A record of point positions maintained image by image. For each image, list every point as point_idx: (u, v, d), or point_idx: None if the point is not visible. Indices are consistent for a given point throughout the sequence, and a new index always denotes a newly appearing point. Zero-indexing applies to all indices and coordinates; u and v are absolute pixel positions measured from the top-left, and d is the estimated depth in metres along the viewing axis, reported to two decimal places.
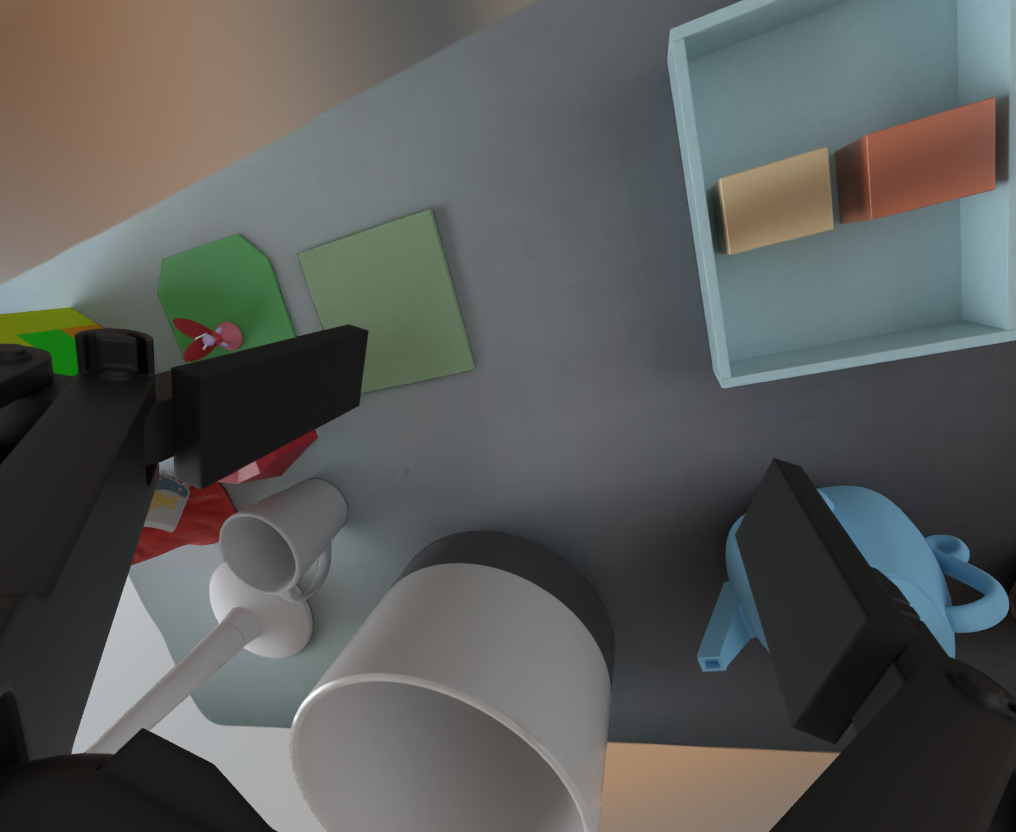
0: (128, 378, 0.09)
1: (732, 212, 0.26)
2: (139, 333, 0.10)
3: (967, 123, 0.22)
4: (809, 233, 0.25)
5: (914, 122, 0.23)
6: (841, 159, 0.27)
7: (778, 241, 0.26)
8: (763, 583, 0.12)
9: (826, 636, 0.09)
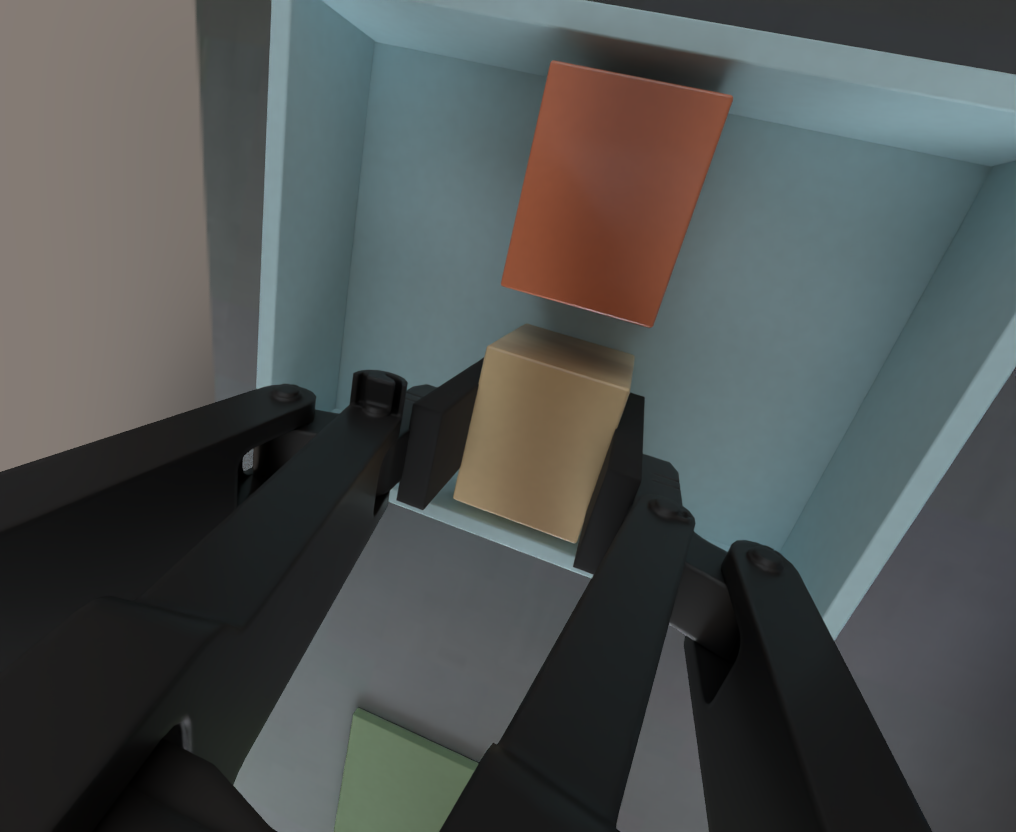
0: (381, 416, 0.11)
1: (511, 509, 0.15)
2: (399, 377, 0.11)
3: (572, 119, 0.11)
4: (613, 427, 0.13)
5: (520, 207, 0.12)
6: None
7: (597, 474, 0.13)
8: None
9: (596, 495, 0.11)
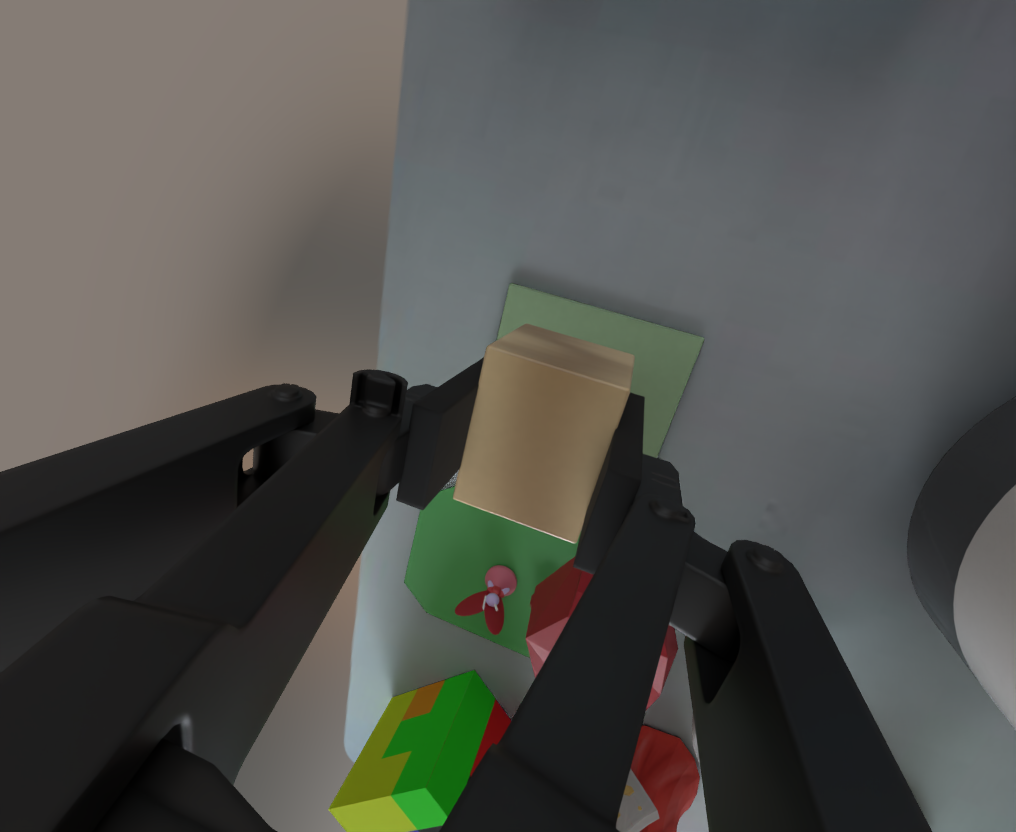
0: (381, 416, 0.11)
1: (510, 509, 0.15)
2: (399, 377, 0.11)
3: None
4: (613, 427, 0.13)
5: None
6: None
7: (597, 474, 0.13)
8: None
9: (596, 495, 0.11)
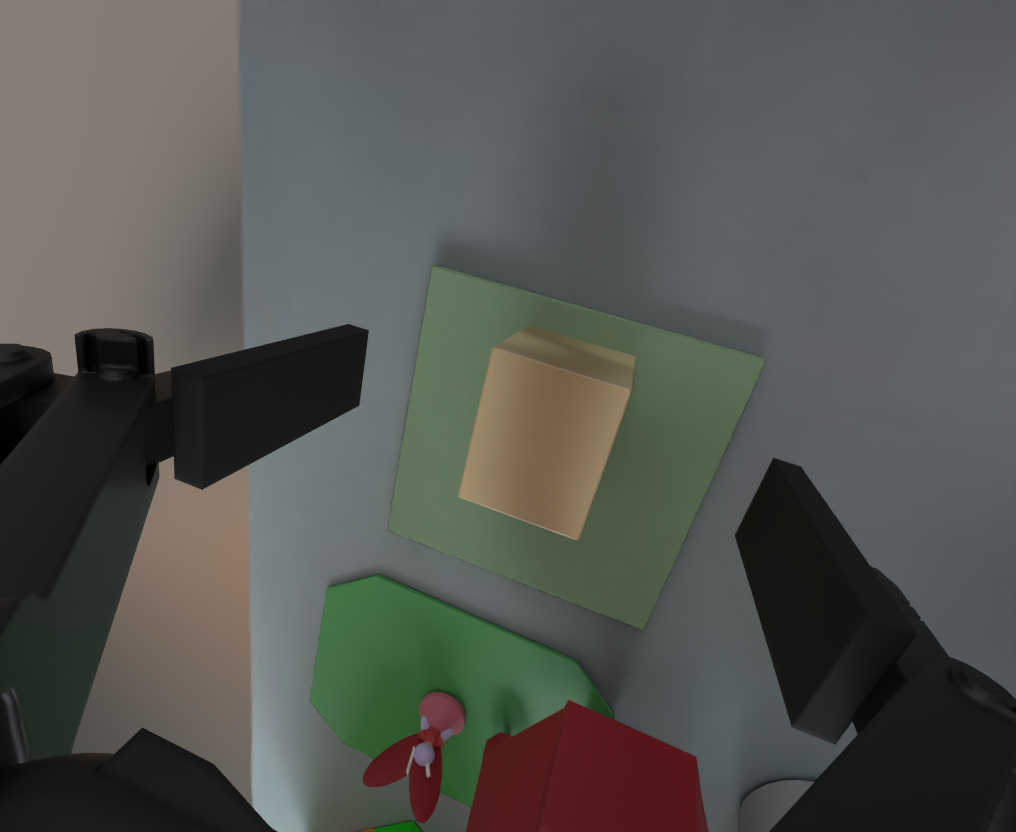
0: (128, 378, 0.09)
1: (514, 507, 0.15)
2: (139, 333, 0.10)
3: None
4: (615, 427, 0.13)
5: None
6: None
7: (599, 472, 0.14)
8: (763, 583, 0.12)
9: (826, 636, 0.09)
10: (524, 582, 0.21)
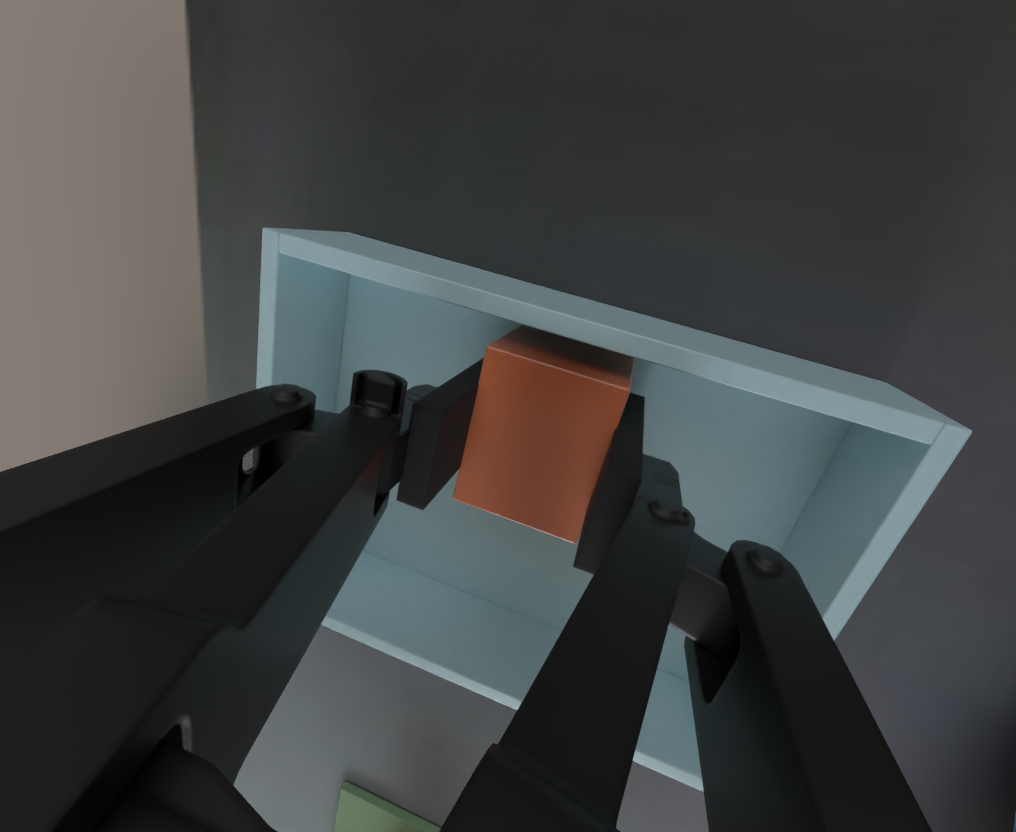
0: (381, 416, 0.11)
1: None
2: (399, 377, 0.11)
3: (505, 389, 0.13)
4: None
5: (466, 446, 0.14)
6: None
7: None
8: None
9: (596, 496, 0.11)
10: None
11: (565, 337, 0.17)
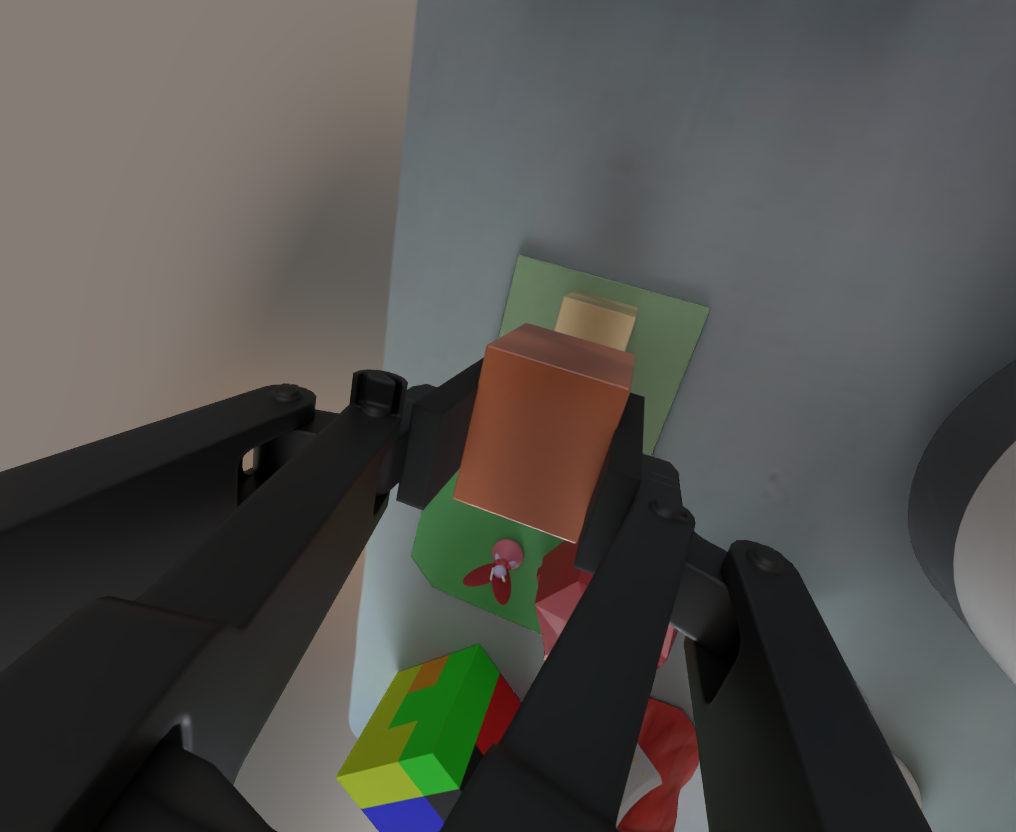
0: (381, 416, 0.11)
1: None
2: (399, 377, 0.11)
3: (505, 389, 0.13)
4: (627, 337, 0.26)
5: (466, 445, 0.14)
6: None
7: None
8: None
9: (596, 495, 0.11)
10: None
11: (565, 336, 0.16)
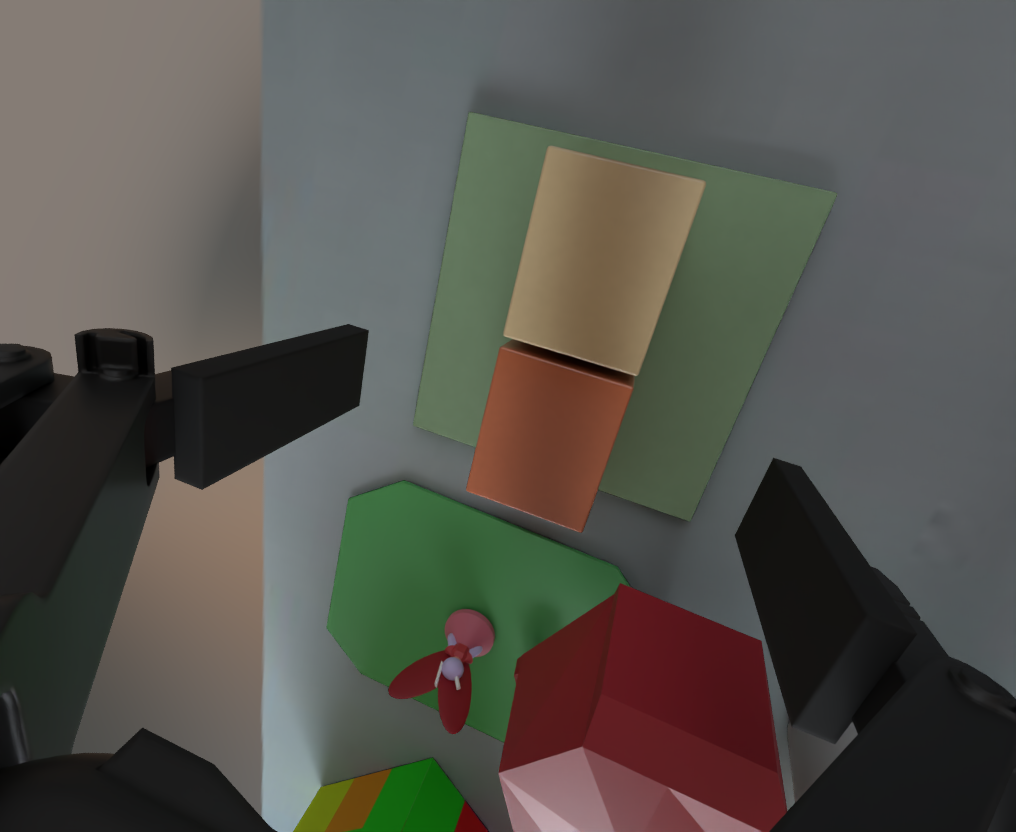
0: (128, 378, 0.09)
1: (567, 341, 0.14)
2: (139, 333, 0.10)
3: (517, 388, 0.14)
4: (685, 229, 0.12)
5: (479, 441, 0.15)
6: None
7: (665, 288, 0.12)
8: (763, 583, 0.12)
9: (826, 636, 0.09)
10: None
11: None
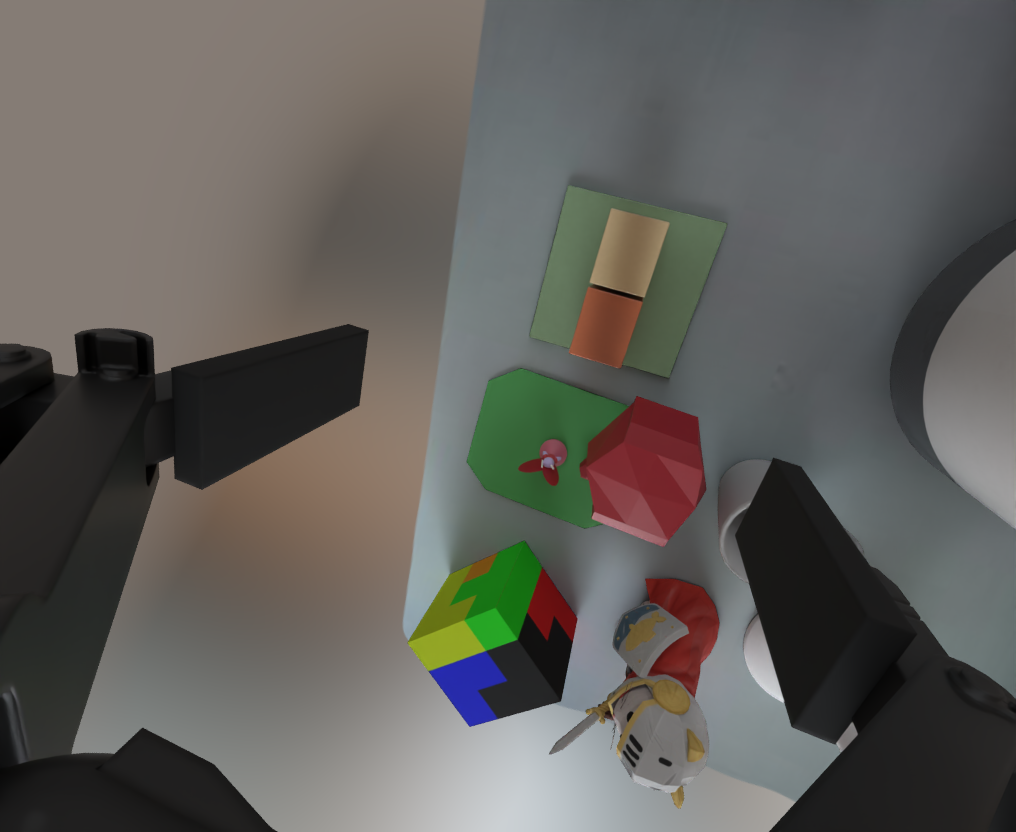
0: (128, 378, 0.09)
1: (616, 283, 0.34)
2: (139, 333, 0.10)
3: (594, 304, 0.35)
4: (662, 239, 0.32)
5: (576, 329, 0.36)
6: None
7: (655, 262, 0.33)
8: (763, 583, 0.12)
9: (826, 636, 0.09)
10: None
11: None
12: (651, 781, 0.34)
